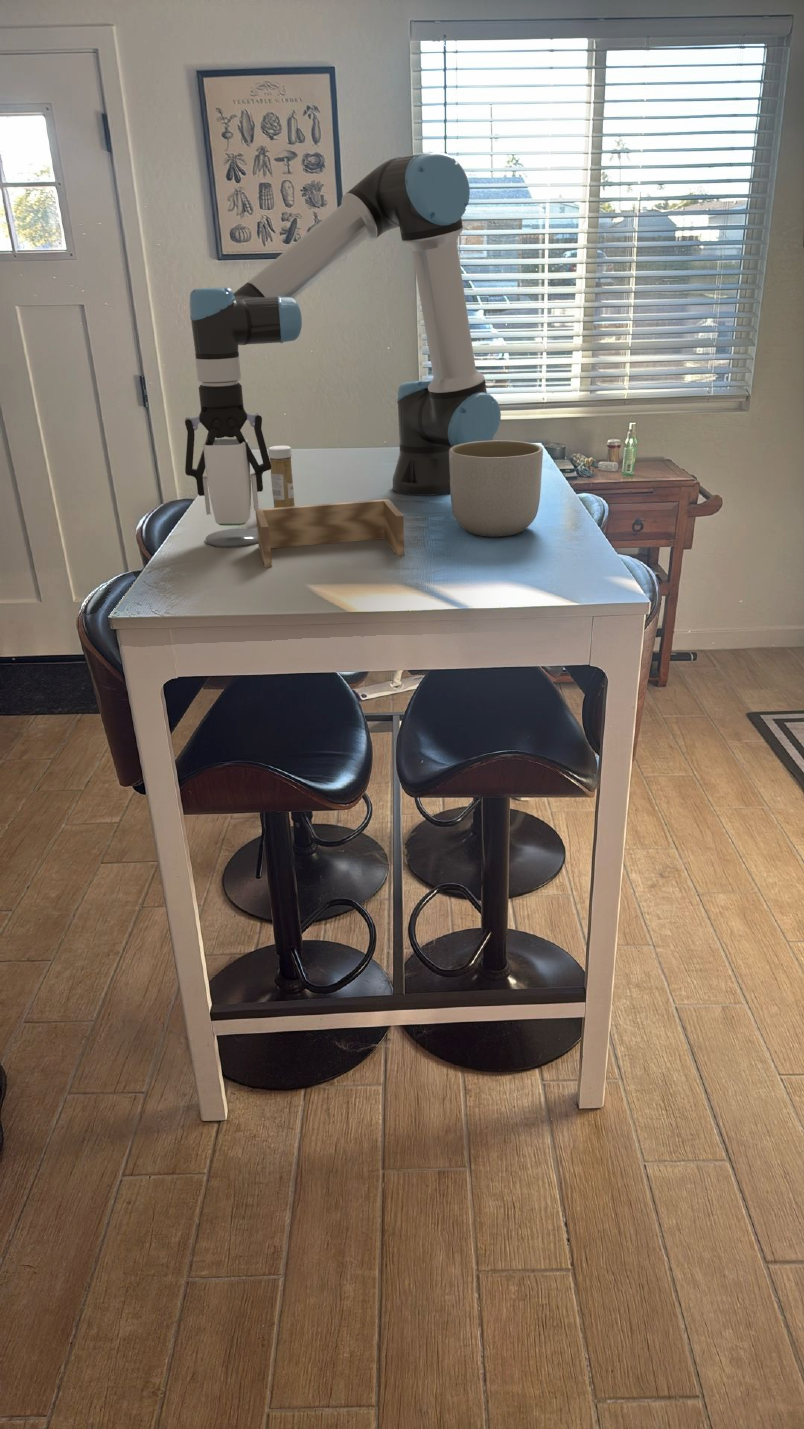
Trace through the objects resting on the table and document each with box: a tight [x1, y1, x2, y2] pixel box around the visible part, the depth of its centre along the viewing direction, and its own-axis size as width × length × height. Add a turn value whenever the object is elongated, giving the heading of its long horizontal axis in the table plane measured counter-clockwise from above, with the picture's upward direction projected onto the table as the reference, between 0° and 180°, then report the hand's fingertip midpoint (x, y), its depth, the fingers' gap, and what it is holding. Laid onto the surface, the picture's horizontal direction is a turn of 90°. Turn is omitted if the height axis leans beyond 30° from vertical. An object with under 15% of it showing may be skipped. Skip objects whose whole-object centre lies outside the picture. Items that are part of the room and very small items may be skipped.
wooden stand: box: [254, 498, 405, 568], centre depth 176 cm, size 24×13×7 cm, turn 102°
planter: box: [449, 439, 544, 538], centre depth 184 cm, size 17×17×15 cm
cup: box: [202, 437, 252, 527], centre depth 182 cm, size 7×7×15 cm
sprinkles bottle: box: [267, 445, 296, 508], centre depth 201 cm, size 5×5×14 cm
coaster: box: [205, 528, 259, 548], centre depth 187 cm, size 11×11×1 cm
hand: (232, 510), depth 185 cm, fingers closed on cup, 8 cm apart
